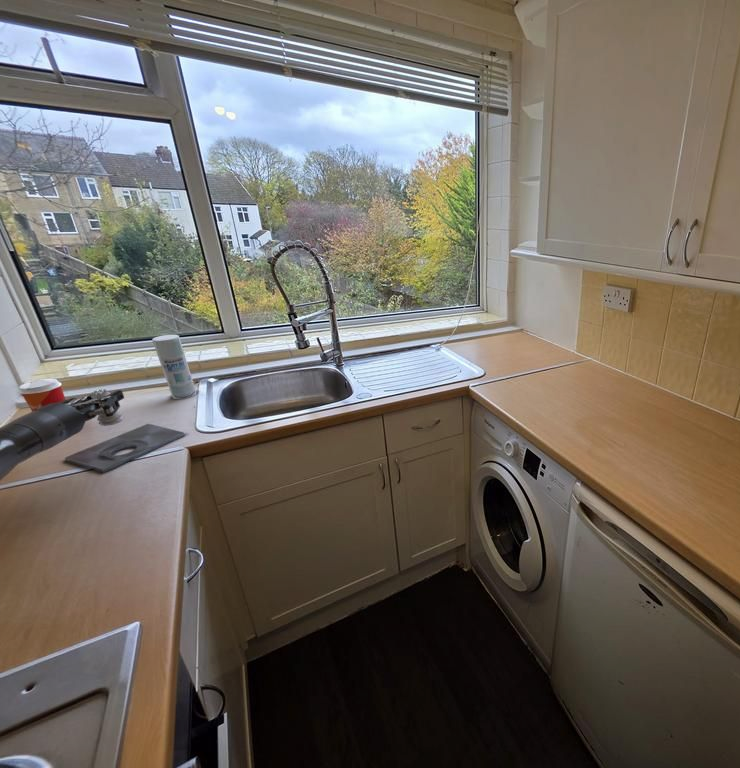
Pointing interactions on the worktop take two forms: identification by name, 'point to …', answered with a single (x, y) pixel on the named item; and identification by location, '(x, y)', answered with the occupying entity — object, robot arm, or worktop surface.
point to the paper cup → (42, 393)
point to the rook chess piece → (102, 417)
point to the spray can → (174, 366)
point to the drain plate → (124, 447)
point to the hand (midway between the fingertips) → (112, 394)
